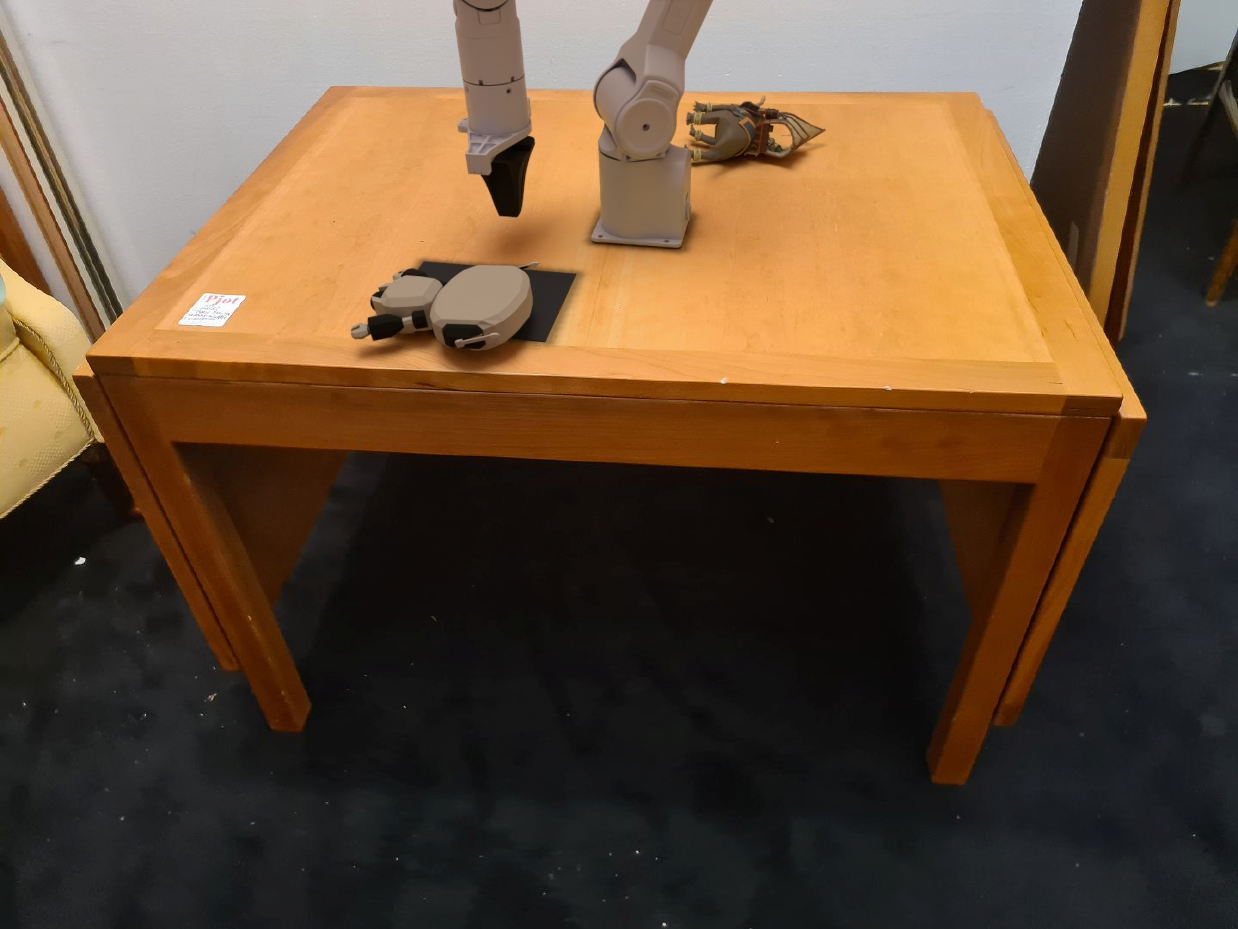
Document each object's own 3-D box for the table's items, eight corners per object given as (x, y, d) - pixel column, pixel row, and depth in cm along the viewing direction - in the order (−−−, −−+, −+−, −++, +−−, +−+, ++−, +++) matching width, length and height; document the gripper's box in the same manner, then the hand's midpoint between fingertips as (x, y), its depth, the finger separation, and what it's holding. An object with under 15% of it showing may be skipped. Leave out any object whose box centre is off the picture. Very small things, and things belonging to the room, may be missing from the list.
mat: (576, 274, 86) (576, 273, 86) (545, 341, 77) (545, 340, 77) (423, 261, 89) (423, 260, 89) (377, 325, 80) (377, 324, 80)
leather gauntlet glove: (696, 77, 112) (828, 83, 110) (693, 125, 116) (821, 132, 114) (680, 126, 97) (833, 134, 95) (677, 179, 101) (825, 188, 99)
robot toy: (351, 366, 76) (512, 374, 73) (335, 322, 73) (502, 328, 70) (405, 294, 85) (551, 298, 82) (393, 252, 82) (543, 254, 79)
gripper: (476, 48, 85) (493, 181, 95) (424, 101, 75) (449, 244, 84) (545, 51, 84) (556, 184, 93) (502, 105, 74) (519, 250, 83)
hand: (510, 213), depth 89 cm, fingers closed
